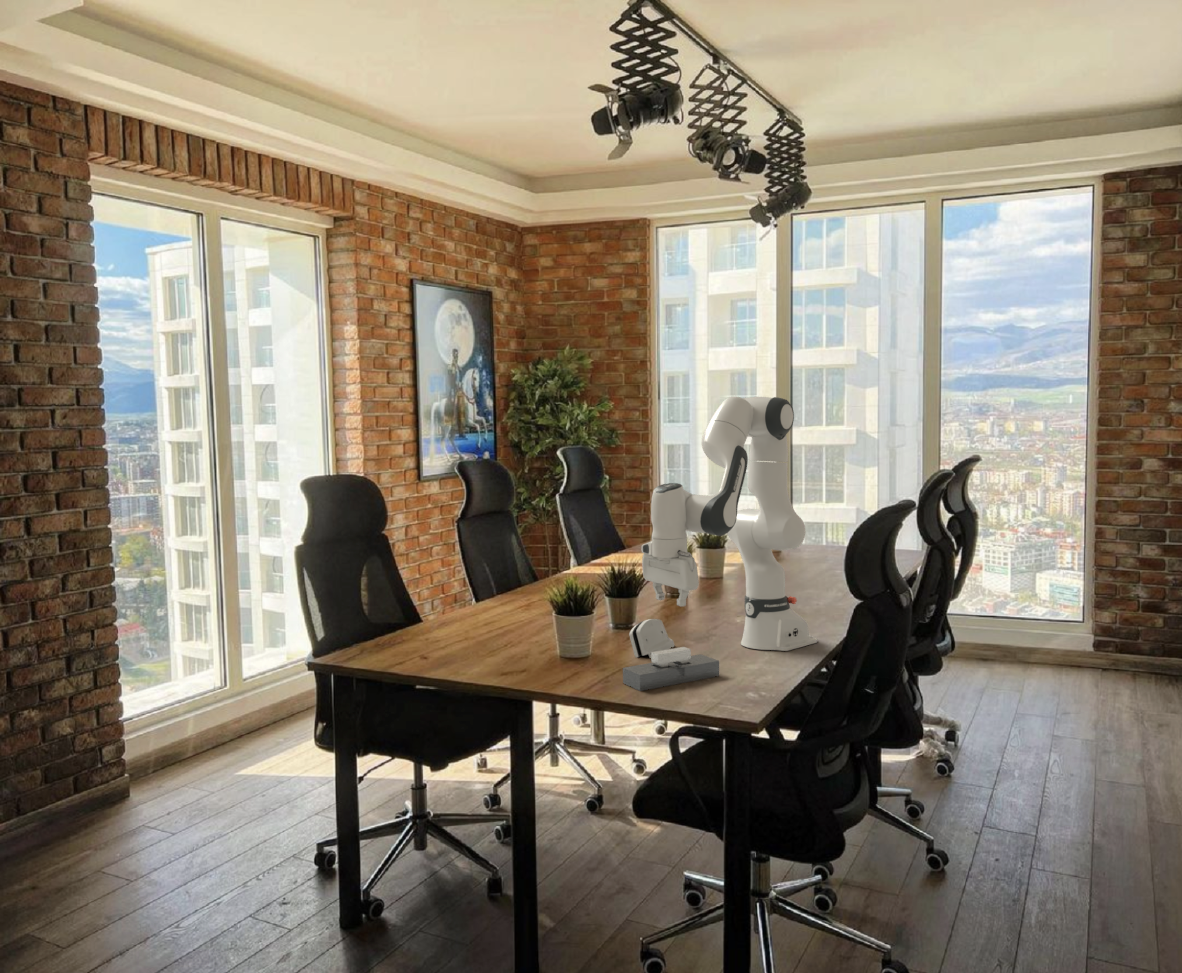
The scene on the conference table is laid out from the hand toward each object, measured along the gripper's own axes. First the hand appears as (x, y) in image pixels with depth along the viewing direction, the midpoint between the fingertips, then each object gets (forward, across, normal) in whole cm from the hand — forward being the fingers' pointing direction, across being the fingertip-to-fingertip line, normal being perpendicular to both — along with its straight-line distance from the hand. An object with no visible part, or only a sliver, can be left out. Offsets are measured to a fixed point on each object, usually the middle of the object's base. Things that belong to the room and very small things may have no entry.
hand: (670, 602), depth 247 cm
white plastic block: (+20, +28, -12) cm, 36 cm away
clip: (+20, 0, 0) cm, 20 cm away
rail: (+20, 0, 0) cm, 20 cm away
